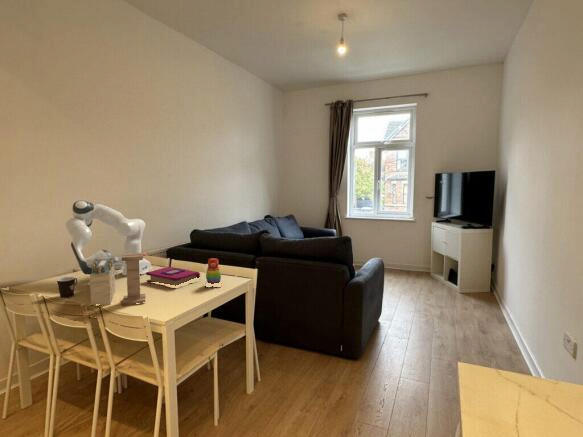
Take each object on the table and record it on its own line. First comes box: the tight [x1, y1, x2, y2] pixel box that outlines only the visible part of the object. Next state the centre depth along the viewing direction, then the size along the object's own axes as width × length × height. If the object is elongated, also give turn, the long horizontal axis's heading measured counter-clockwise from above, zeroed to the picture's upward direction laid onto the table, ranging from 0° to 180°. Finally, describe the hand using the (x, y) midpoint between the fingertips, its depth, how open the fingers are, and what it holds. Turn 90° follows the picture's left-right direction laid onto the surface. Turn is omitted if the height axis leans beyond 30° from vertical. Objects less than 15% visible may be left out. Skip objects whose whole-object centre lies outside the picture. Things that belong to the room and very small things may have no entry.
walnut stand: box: [121, 252, 146, 307], centre depth 183 cm, size 11×11×26 cm
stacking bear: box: [205, 257, 222, 284], centre depth 214 cm, size 11×10×18 cm
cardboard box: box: [89, 260, 116, 306], centre depth 187 cm, size 22×9×20 cm, turn 22°
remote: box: [96, 258, 110, 273], centre depth 188 cm, size 22×4×3 cm, turn 22°
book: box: [145, 266, 201, 286], centre depth 222 cm, size 21×28×8 cm
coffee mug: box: [56, 276, 78, 299], centre depth 192 cm, size 12×9×10 cm
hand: (104, 258), depth 195 cm, fingers open, 8 cm apart
